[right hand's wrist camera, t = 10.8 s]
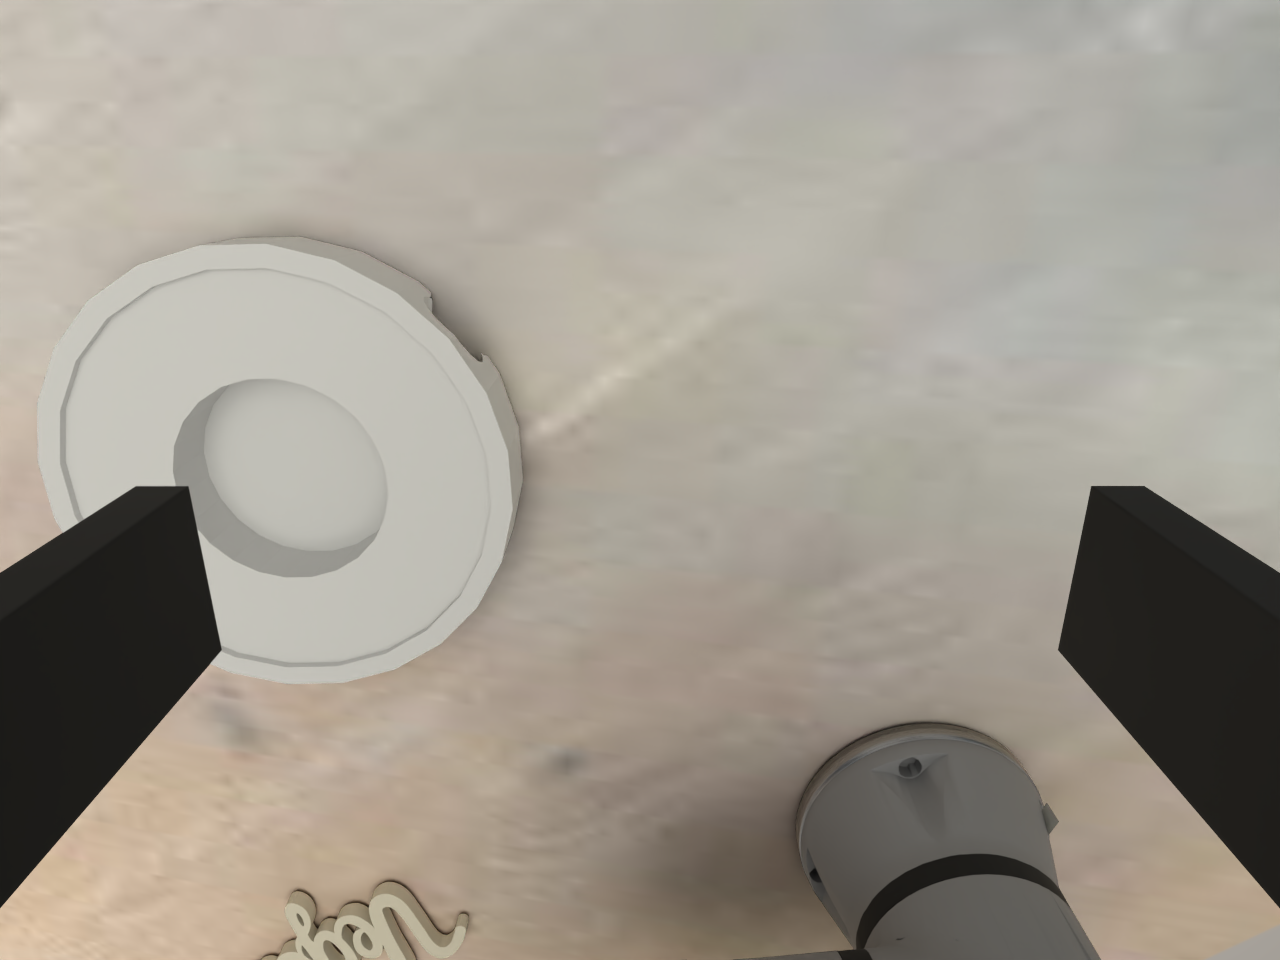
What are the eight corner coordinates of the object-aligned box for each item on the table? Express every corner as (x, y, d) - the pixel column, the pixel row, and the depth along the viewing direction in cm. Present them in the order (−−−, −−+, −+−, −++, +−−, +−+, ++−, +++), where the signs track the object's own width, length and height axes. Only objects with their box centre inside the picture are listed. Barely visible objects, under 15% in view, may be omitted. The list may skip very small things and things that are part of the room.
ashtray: (536, 262, 41) (526, 272, 38) (511, 662, 50) (501, 703, 46) (58, 209, 41) (-1, 214, 37) (112, 625, 49) (69, 664, 45)
